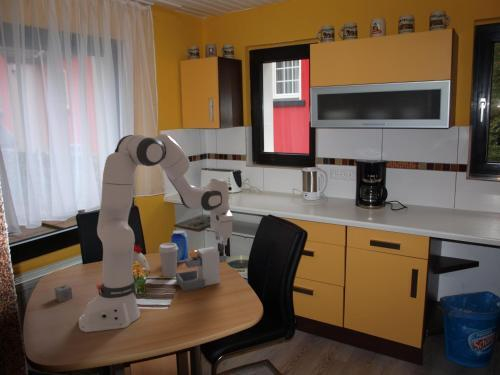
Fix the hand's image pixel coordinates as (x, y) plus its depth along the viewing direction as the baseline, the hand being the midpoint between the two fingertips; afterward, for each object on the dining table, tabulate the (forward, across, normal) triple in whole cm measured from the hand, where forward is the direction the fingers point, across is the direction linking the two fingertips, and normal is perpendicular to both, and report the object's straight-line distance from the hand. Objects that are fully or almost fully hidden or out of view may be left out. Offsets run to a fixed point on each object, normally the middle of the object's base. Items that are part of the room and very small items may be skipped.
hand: (221, 242), depth 196 cm
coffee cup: (+18, -16, -22) cm, 32 cm away
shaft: (+9, 0, -8) cm, 12 cm away
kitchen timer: (+18, -25, -37) cm, 48 cm away
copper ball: (+4, 0, -13) cm, 14 cm away
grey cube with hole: (+18, -9, -69) cm, 72 cm away
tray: (+18, 0, -16) cm, 24 cm away
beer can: (+18, -34, -12) cm, 40 cm away
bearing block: (+18, 0, -7) cm, 19 cm away
